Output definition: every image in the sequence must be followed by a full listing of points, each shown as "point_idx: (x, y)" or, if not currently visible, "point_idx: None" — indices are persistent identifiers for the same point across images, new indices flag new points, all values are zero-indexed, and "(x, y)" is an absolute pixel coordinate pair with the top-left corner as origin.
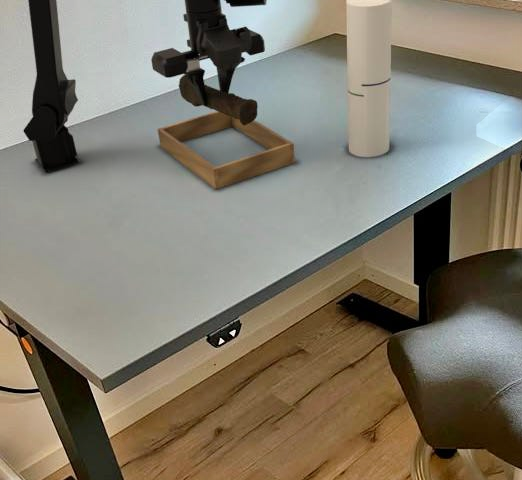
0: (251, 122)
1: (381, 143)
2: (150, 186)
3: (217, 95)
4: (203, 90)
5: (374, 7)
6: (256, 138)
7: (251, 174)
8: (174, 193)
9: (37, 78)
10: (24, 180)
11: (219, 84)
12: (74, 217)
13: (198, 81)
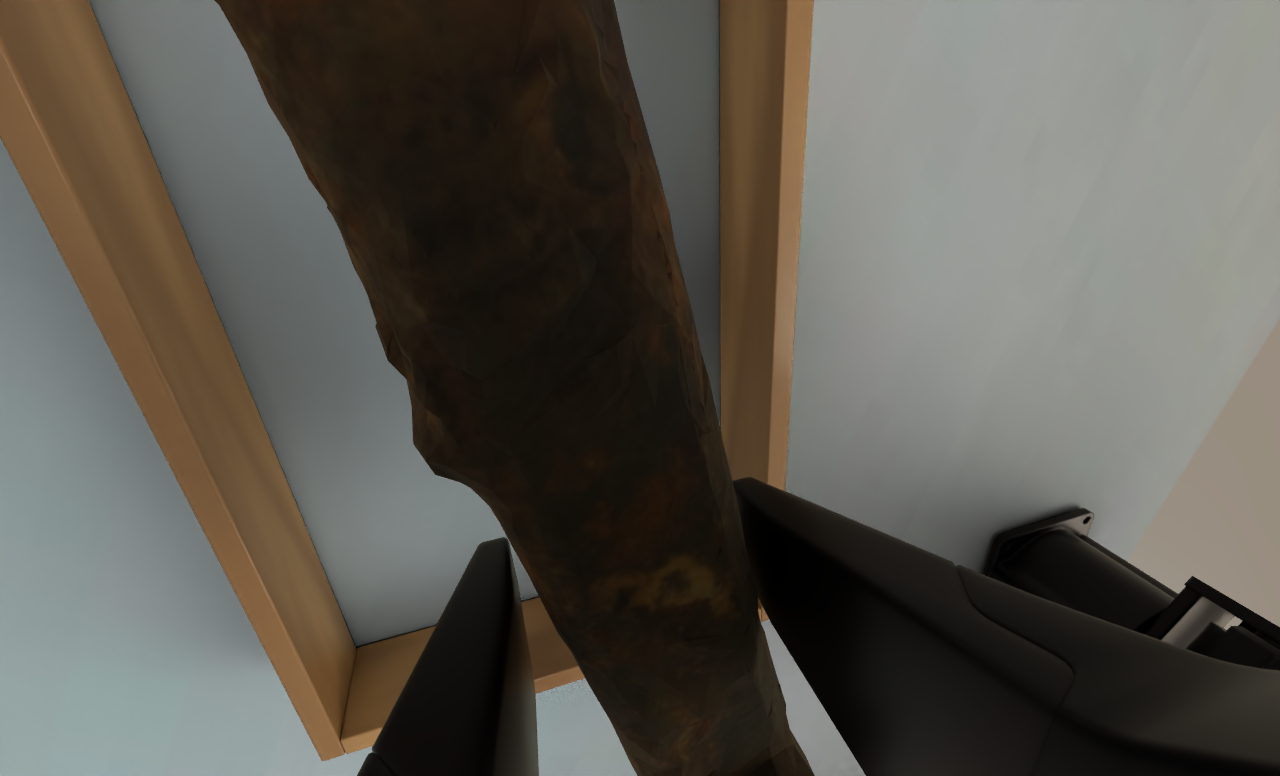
0: (242, 525)
1: None
2: (946, 201)
3: (683, 478)
4: (884, 570)
5: None
6: (255, 428)
7: None
8: (918, 37)
9: None
10: (1137, 488)
11: (537, 762)
12: (1245, 113)
13: (1124, 659)
